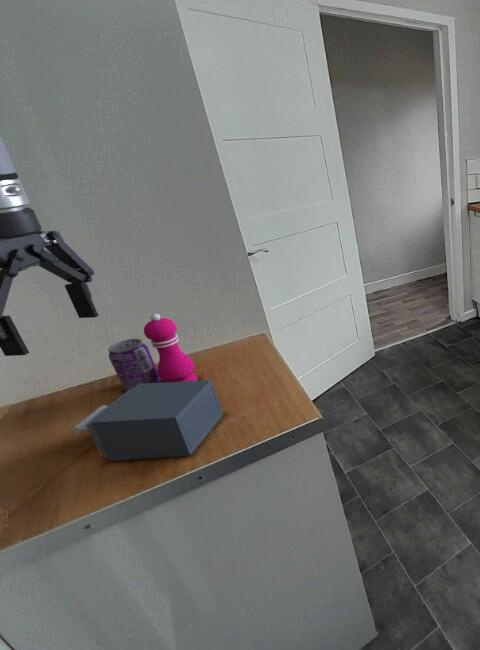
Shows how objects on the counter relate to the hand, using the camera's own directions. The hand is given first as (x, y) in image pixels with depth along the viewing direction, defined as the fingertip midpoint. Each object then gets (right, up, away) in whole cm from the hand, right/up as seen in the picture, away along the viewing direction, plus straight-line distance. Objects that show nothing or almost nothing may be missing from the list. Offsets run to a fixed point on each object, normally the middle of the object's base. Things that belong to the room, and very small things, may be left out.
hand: (56, 334), depth 70 cm
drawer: (+1, -22, +16) cm, 27 cm away
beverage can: (-15, -16, +33) cm, 39 cm away
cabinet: (+6, -23, +17) cm, 29 cm away
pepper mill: (-6, -15, +34) cm, 38 cm away
